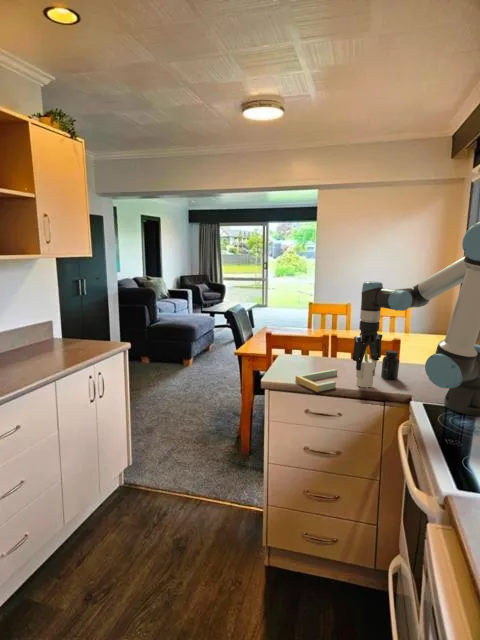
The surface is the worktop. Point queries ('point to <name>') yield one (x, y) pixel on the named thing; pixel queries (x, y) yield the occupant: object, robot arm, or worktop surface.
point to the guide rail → (316, 387)
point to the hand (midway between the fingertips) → (365, 376)
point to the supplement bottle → (390, 365)
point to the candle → (367, 373)
